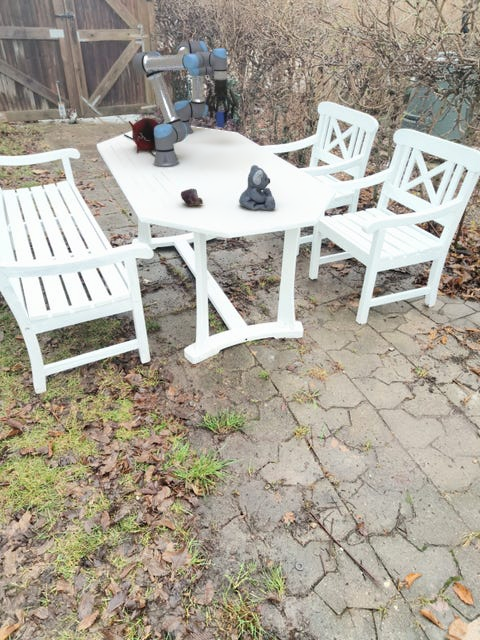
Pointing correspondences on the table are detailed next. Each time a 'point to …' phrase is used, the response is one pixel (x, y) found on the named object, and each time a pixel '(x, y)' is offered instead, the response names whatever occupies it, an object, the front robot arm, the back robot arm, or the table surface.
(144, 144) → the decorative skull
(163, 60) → the front robot arm
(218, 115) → the block
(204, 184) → the table surface
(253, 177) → the koala plush
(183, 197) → the rock
